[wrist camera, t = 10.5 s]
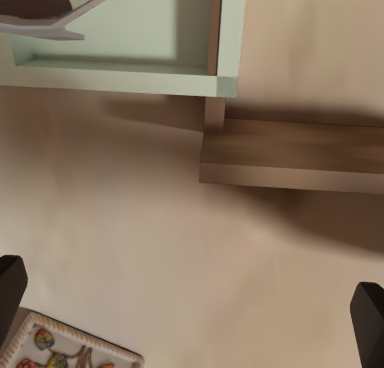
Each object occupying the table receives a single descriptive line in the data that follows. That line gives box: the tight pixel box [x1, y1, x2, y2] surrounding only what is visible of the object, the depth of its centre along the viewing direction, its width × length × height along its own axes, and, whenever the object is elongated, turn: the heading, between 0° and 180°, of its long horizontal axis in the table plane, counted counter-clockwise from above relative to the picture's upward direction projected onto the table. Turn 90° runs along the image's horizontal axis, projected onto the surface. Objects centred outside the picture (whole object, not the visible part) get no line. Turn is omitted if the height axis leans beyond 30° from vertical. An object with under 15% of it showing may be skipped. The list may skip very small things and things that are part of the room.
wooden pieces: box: [199, 0, 384, 195], centre depth 15 cm, size 14×13×6 cm
